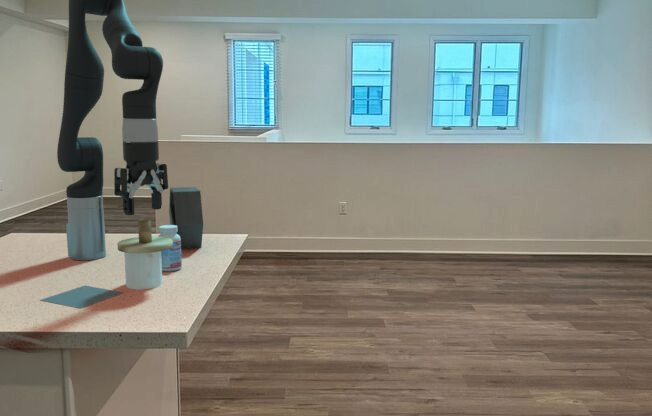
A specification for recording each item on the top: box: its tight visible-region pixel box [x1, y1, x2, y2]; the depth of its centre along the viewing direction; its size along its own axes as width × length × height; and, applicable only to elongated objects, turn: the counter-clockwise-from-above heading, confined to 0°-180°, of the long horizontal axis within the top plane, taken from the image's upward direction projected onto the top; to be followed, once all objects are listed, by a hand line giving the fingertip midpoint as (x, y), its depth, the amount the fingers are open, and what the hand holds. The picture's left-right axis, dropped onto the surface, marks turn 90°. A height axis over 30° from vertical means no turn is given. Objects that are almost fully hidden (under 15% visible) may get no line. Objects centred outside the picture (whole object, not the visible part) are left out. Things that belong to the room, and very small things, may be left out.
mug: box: [123, 251, 163, 290], centre depth 133 cm, size 8×12×10 cm
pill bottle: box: [157, 224, 183, 272], centre depth 150 cm, size 6×6×11 cm
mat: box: [39, 285, 125, 310], centre depth 126 cm, size 12×12×1 cm
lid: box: [117, 218, 173, 253], centre depth 132 cm, size 12×12×6 cm
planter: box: [168, 186, 204, 250], centre depth 177 cm, size 17×8×21 cm
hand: (143, 211), depth 131 cm, fingers open, 8 cm apart
